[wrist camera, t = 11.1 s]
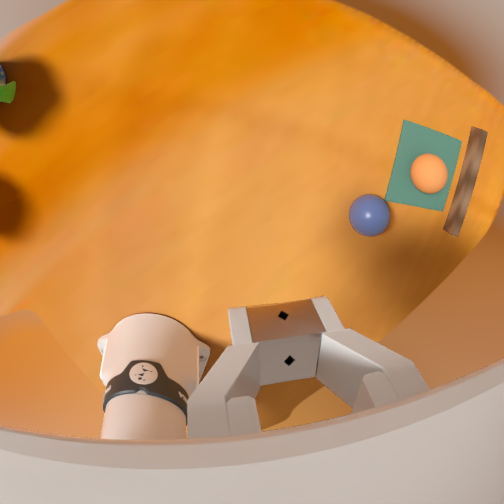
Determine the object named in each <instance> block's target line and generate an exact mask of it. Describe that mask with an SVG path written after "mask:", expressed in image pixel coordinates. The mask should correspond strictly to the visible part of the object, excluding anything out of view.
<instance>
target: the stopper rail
mask: <svg viewBox="0 0 504 504" xmlns="http://www.w3.org/2000/svg"><path fill="white" fill-rule="evenodd" d="M487 133H488V132H486V131H484V130H482V129H479V128H475V127H472V128H471V132H470V137H469V142H468V146H467V150H466V154H465V159H464V163H463V166H462V170H461V174H460V178H459V181H458V185H457V188H456V192H455V195H454V198H453V202H452V205H451V208H450V211H449V214H448V217H447V220H446V223H445V226H444V230H445V231H447V232H448V233H449V234H451V235H452V236H458V235H459V232H460V229H461V226H462V223H463V221H464V218H465V215H466V212H467V208H468V205H469V202H470V199H471V196H472V192H473V189H474V185H475V182H476V178H477V175H478V171H479V167H480V163H481V159H482V155H483V151H484V147H485V142H486V138H487Z"/></svg>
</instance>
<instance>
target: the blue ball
mask: <svg viewBox="0 0 504 504" xmlns="http://www.w3.org/2000/svg"><path fill="white" fill-rule="evenodd" d="M349 220H350V223H351V225H352V227H353V228H354V229H355V231H356V232H358V233H359V234H361V235H364V236H368V237H372V236H376V235H379V234H380V233H382V232H383V231H384V230H385V229H386V228H387V226H388V224H389V221H390V211H389V208H388V206H387V204H386V202H385V201H384V200H383V199H382V198H380V197H378V196H376V195H372V194H366V195H362V196H360V197H358V198H357V199H356V200H355V201H354V202H353V203H352V205H351V207H350V210H349Z"/></svg>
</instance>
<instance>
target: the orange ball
mask: <svg viewBox="0 0 504 504" xmlns="http://www.w3.org/2000/svg"><path fill="white" fill-rule="evenodd" d="M410 175H411V179H412V182H413V184H414V185H415V186H416V187H417V188H418V189H419V190H420V191H422V192H424V193H429V194H432V193H436V192H438V191H440V190H441V189H442V188H443V187H444V186H445V184H446V182H447V179H448V171H447V167H446V165H445V163H444V162H443V161H442V160H441V159H440V158H439V157H438V156H436V155H433V154H422V155H420V156H418V157H417V158H416V159H415V160H414V161H413V163H412V165H411V169H410Z"/></svg>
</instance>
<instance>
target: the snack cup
mask: <svg viewBox="0 0 504 504" xmlns="http://www.w3.org/2000/svg"><path fill="white" fill-rule="evenodd" d="M15 90H16V82H15V81H12V82H10V83H8V84H6V76H5V72H4V70H3V68H2V66H1V65H0V102H6V103H11V102H12V101H13V99H14V97H15Z"/></svg>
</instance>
